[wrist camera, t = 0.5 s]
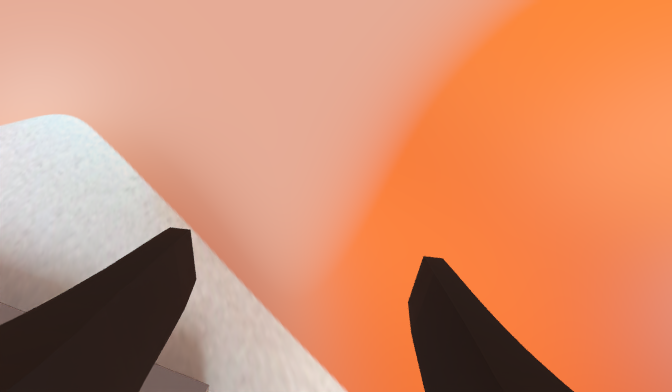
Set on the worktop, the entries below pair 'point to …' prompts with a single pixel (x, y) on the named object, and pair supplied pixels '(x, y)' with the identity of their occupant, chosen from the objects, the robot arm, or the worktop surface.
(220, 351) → the worktop surface
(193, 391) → the block
